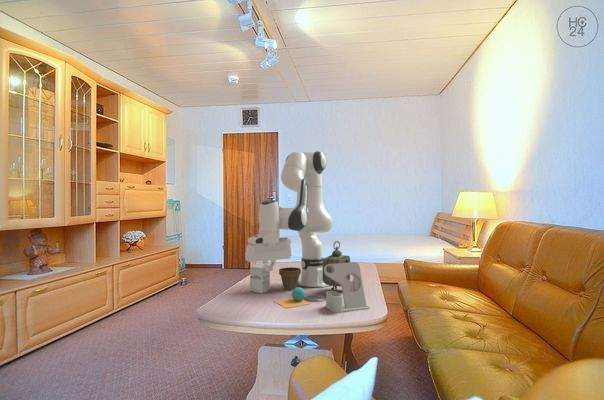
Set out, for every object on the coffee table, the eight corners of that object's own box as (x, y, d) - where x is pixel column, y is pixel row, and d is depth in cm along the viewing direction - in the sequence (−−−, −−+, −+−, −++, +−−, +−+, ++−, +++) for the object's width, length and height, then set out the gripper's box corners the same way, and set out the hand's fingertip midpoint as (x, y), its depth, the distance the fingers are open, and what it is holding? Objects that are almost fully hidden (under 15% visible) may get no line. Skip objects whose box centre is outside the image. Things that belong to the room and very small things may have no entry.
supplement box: (249, 291, 165) (249, 266, 165) (258, 288, 171) (258, 264, 172) (261, 293, 161) (261, 267, 162) (270, 290, 168) (270, 265, 168)
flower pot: (276, 286, 174) (276, 267, 175) (297, 285, 178) (297, 266, 178) (282, 292, 163) (281, 271, 164) (303, 290, 167) (303, 270, 167)
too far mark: (317, 294, 159) (317, 294, 159) (330, 299, 151) (330, 299, 151) (300, 297, 154) (300, 297, 154) (311, 303, 145) (311, 302, 145)
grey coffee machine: (333, 313, 132) (332, 267, 132) (323, 306, 141) (323, 263, 142) (371, 308, 137) (371, 265, 138) (359, 301, 147) (359, 261, 147)
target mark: (297, 297, 154) (297, 296, 154) (310, 303, 144) (310, 303, 144) (273, 301, 148) (273, 300, 148) (286, 308, 138) (286, 308, 138)
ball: (298, 284, 153) (288, 288, 149) (307, 286, 148) (297, 290, 144) (299, 297, 153) (289, 301, 149) (308, 300, 149) (298, 304, 145)
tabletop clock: (338, 296, 156) (338, 242, 157) (321, 293, 161) (321, 241, 161) (350, 289, 169) (350, 240, 169) (334, 287, 173) (334, 239, 174)
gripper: (287, 236, 149) (287, 267, 149) (243, 239, 138) (244, 272, 138) (294, 237, 144) (294, 269, 143) (249, 240, 133) (249, 274, 133)
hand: (269, 270), depth 141 cm, fingers closed
